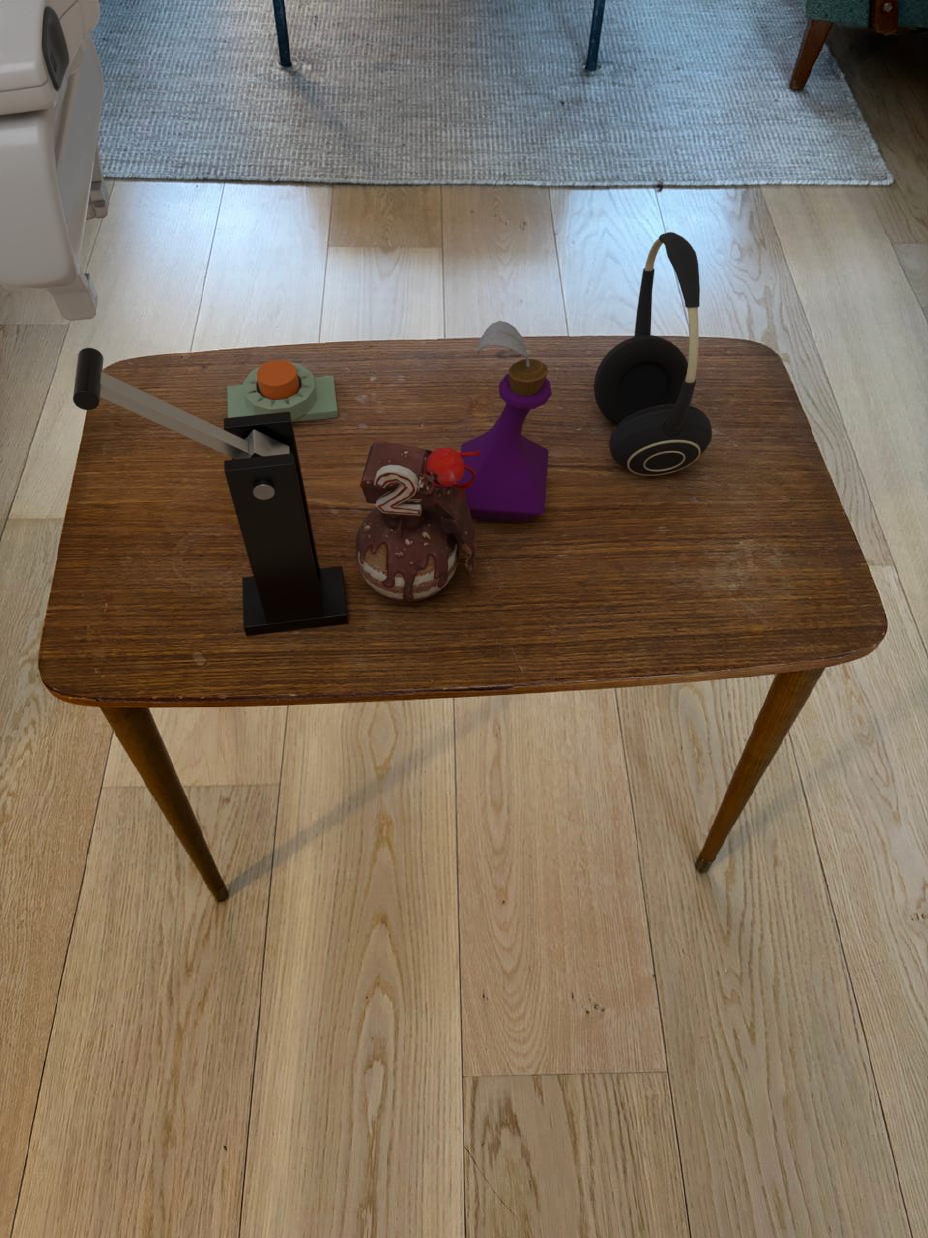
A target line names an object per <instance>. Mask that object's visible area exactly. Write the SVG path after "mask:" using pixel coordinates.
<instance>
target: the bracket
mask: <svg viewBox="0 0 928 1238" xmlns="http://www.w3.org/2000/svg"><path fill="white" fill-rule="evenodd" d="M223 430H225V431H227V432H229V433H231V434H233V435H235V436H238V437H240V438H242V439H244V440H245V439H246V438H247V437H248V435H249V434H250V433H251V432H252V431H253V430H256V431H258V432H260V433H262V434H265V435H267V436H269V437H271V438H273V439H275V440H277V441H279V442H281V443H283V444H285V445H287V446H289V451H290V454H281V455H271V456H262V457H253V458H243V459H233V458H231V459H227V460H224V461H223V472H224V475H225V479H226V482H227V486H228V489H229V493H230V497H231V500H232V504H233V508H234V512H235V514H236V518H237V519H236V520H237V522H238V525H239V529H240V533H241V536H242V540H243V544H244V548H245V550H246V551H245V552H246V554H247V559H248V562H249V565H250V569H251V572H252V576H244V577H242V578H241V584H242V585H241V586H242V621H243V623H242V624H243V625H242V626H243V627H242V628H243V630H244V633H245V636H246V637H250V636H257V635H259V636H260V635H266V634H274V633H282V632H290V631H299V630H306V629H314V628H315V629H316V628H322V627H324V628H325V627H331V626H338V625H339V626H340V625H347V624H349V613H348V605H347V603H348V602H347V592H346V584H345V574H344V568H343V565H338V566H329V567H320V562H319V557H318V552H317V547H316V541H315V537H314V530H313V525H312V520H311V515H310V509H309V504H308V499H307V494H306V493H307V492H306V489H305V483H304V478H303V473H302V467H301V462H300V457H299V451H298V446H297V440H296V436H295V435H296V434H295V431H294V425H293V422H292V419H291V414H290V412H289V411H288V412H279V413H269V414H259V415H250V416H240V417H231V418H228V417H224V418H223Z"/></svg>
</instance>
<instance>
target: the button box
mask: <svg viewBox="0 0 928 1238" xmlns="http://www.w3.org/2000/svg"><path fill="white" fill-rule="evenodd" d="M287 361H288V362H290V363H292V364H293V365H294V366H295V368H296V370H297V376H298V381H299V389H298V391H297V392H296V394H295V395H293V396H291V397H289V398H287V399H282V400H270V399H268V398H266V397H264V396H263V395H262V394H261V392H260V388H259V384H258V379H257V371H258V369H259V368H260V367H261V366H259V367H257V368H254V369H253V370H251V371H250V373H249V374H248V375H247V376H246V378H245V379H244V380H243V382H242V384H235V385H227V387H226V393H227V394H226V395H227V397H226V398H227V400H226V401H227V418H231V417H240V416H250V415H259V414H269V413H279V412H288V411H289V412H290V414H291V419H292V423H298V422H307V421H308V422H309V421H317V420H326V419H337V418H339V410H338V402H337V394H336V384H335V377H334V375H332V374H331V375H324V376H315V375H314V374H313V373H312V372H311V371H310V370H309V369H308V368H307V367H306V366H305V365H303V364H300V363H298V362H297V363H296V362H292V361H289V360H287Z"/></svg>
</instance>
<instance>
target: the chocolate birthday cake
mask: <svg viewBox="0 0 928 1238" xmlns="http://www.w3.org/2000/svg"><path fill="white" fill-rule="evenodd" d="M480 452H481V450H480V451H475V452H464V453H463V452H461V451H457V450H456V449H454V448H452V447H439V448H436V449H435V450H430V449H426V448H422V447H417V446H411V445H407V444H400V443H395V442H391V441H390V442H389V441H385V440H379V439H375V440H374V441H373V443H372V444H371V445H370V448H369V451H368V455H367V458H366V462H365V466H364V469H363V472H362V476H361V480H360V483H359V487H360V488H361V490H362V492H363V493H362V494H363V495H364V498H365V501H366V503H367V504H375V506H374V507H373V508H372V509H371V510H370V512H368V514H367V515H366V516H365V517H364V519H363V520H362V522H361V524H360V526H359V528H358V530H357V534H356V538H355V557H356V561H357V565H358V568H359V569H358V570H359V572H360V574H361V576H362V577H363V579H364V581H366V583H367V585H368V586H369V587H371V588H372V590H374V591H375V592H376V593H378V594H379V595H380V596H383V597H385V598H387V599H389V600H394V601H398V602H411V603H412V602H418V601H423V600H426V599H428V598H430V597H433V596H435V595H436V594H438V593H439V592H440V591H442V590H443V589H444V588H445V587H446V586H447V585H448V584H449V582H450V581H451V580H452V579H453V577H454V574H455V572H456V570H457V566H458V564H459V561H460V549H461V550H463V551H465V552H466V557H465V563H464V565H465V568H466V569H467V571H468V573H469V576H470V582H469V583H470V584H469V586H471V585H472V579H473V572H474V568H475V567H474V566H475V561H476V554H477V546H478V545H477V544H475V536H476V528H475V526H474V522H473V518H472V517H471V514H470V510H469V506H468V502H467V498H466V495H465V491H464V490H465V489H467V488H470V487H471V485H472V483H473V481H474V480H475V474H476V473H475V471H474V470H473V469H472V468H471V467H469V466H467V465H465V464H464V462H463V459H462V457H461V456H463V457H464V456H476V455H479V454H480ZM464 468H465V469H466V470H468V471H470V473H471V474H472V476H473V477H472V479H471V480H470V481H469V482H467V483H463V484H456V482H458V481H459V480H460V479H461V478H462V477H463V476H464ZM468 591H469V592H470V589H468Z"/></svg>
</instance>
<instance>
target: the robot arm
mask: <svg viewBox="0 0 928 1238" xmlns="http://www.w3.org/2000/svg"><path fill="white" fill-rule="evenodd" d="M101 12H102V11H101V4H100V1H99V0H0V286H1V287H2V288H4V289H5V290H7V291H11V292H13V291H14V292H15V291H16V292H20V291H30V290H33V291H34V290H42V289H43V290H44V289H46V290H47V292H49V294H50V295H52V297H53V300H54V302H55V304H56V306H57V309H58V312H59V314H60V316H61V317H62V318H63V319H64V320H67V321H69V322H75V321H85V320H92V319H94V318H95V317H96V315H97V308H98V299H99V298H98V297H99V295H98V292H97V291H96V289H95V284H94V282H93V279H92V276H91V274H90V272H86V273H85V272H84V271H83V268H82V267H81V265H80V264H81V263H80V262H81V258H82V257H81V256H82V250H83V242H84V235H85V228H86V222H87V221H89V220H93V219H95V218H96V219H105V218H106V217H107V216H108V212H109V206H110V199H111V198H110V194H109V192H108V188H107V185H106V182H105V178H104V175H103V168H102V166H103V165H102V160H101V153H100V147H99V140H98V139H99V138H98V137H99V132H100V131H99V130H100V123H101V117H102V109H103V102H104V96H105V81H104V74H103V69H102V65H101V61H100V57H99V54H98V51H97V48H96V45H95V42H94V39H93V35H92V32H93V31H94V29H96V27H97V25H98V23H99V22H100V19H101V15H102V14H101Z"/></svg>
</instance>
